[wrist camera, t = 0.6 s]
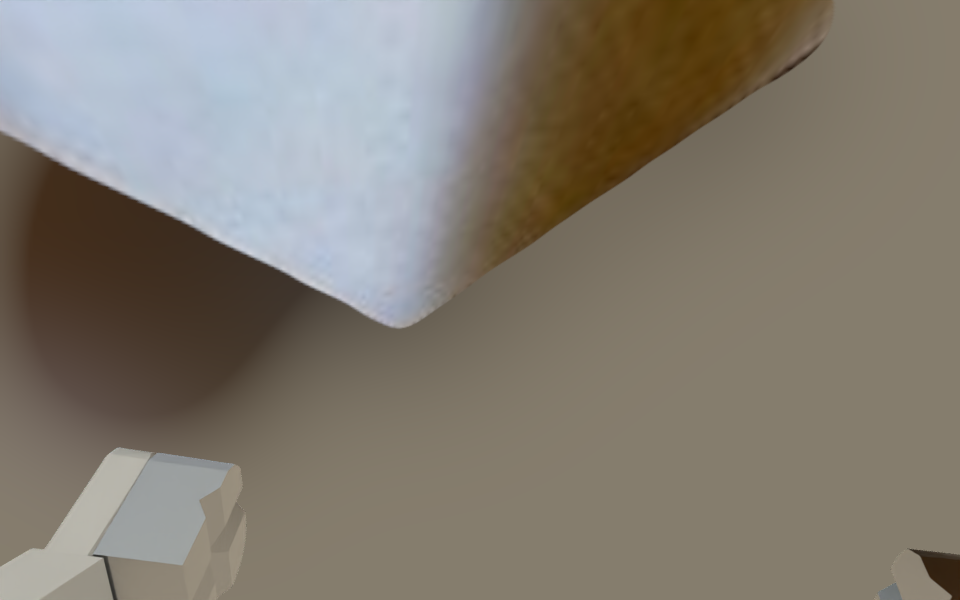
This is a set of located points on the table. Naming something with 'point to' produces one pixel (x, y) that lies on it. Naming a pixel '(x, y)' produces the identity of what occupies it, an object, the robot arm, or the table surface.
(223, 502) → the robot arm
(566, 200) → the table surface
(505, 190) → the table surface
